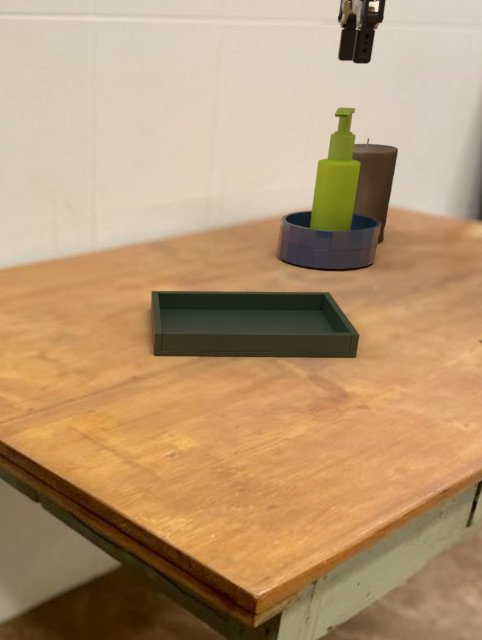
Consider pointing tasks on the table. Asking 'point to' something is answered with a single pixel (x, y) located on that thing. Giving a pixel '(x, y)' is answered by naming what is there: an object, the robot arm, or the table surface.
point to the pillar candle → (374, 180)
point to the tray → (250, 324)
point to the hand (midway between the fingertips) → (353, 62)
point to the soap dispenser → (336, 179)
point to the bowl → (328, 242)
